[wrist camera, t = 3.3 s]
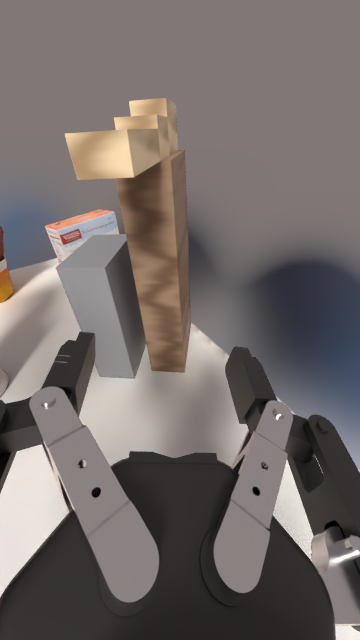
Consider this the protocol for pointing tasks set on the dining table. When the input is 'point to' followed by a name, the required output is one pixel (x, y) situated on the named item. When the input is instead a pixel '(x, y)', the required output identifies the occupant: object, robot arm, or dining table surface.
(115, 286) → the step
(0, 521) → the dining table surface
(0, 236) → the bucket of meat
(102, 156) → the tan wooden molding strip
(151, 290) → the wooden block
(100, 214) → the cracker box
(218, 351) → the dining table surface
